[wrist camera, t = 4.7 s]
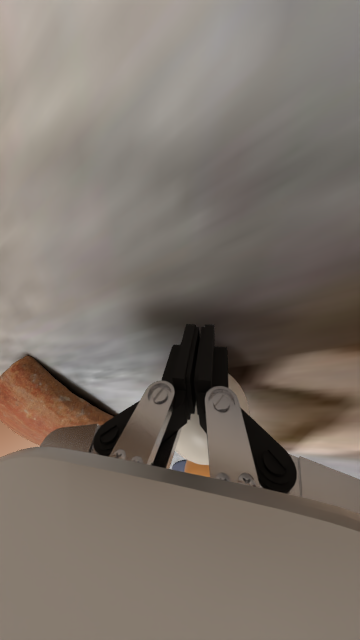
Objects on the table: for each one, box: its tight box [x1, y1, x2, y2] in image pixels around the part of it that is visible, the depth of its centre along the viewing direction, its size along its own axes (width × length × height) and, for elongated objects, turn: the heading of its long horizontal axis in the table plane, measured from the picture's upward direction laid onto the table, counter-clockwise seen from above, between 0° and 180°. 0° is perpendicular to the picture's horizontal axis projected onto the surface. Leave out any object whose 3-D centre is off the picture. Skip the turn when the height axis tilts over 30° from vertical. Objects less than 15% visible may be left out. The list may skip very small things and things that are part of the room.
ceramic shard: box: [0, 356, 114, 445], centre depth 23 cm, size 15×6×15 cm
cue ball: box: [175, 374, 250, 465], centre depth 12 cm, size 6×6×6 cm
